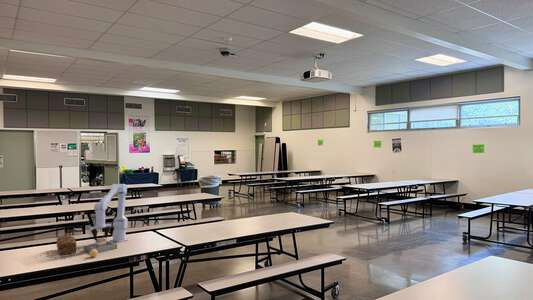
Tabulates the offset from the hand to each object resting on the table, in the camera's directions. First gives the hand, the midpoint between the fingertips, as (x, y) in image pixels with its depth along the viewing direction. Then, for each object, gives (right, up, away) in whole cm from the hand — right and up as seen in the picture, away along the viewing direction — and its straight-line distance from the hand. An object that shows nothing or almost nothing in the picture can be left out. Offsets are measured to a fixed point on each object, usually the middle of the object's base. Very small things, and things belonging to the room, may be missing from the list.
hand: (100, 238), depth 244 cm
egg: (+4, -8, -17) cm, 19 cm away
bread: (-22, -8, -4) cm, 24 cm away
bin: (0, -8, 0) cm, 8 cm away
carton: (0, -7, 0) cm, 7 cm away
